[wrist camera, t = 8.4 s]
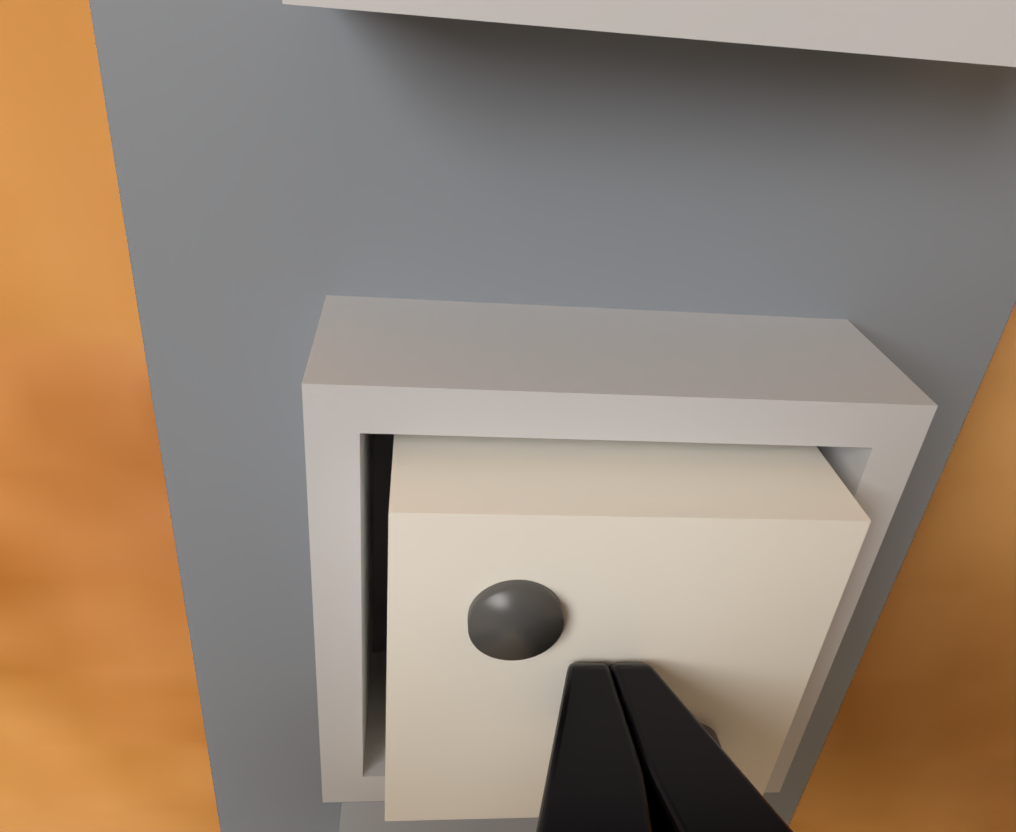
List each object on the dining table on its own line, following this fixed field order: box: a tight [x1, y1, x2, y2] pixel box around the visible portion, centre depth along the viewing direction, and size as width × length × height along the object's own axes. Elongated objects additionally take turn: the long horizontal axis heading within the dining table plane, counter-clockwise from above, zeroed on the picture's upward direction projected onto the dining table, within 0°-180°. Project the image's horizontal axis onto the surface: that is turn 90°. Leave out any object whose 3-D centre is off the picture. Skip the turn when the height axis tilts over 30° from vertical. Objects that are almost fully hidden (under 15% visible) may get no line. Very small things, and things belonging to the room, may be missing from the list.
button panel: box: [89, 0, 1016, 832], centre depth 11 cm, size 26×10×4 cm, turn 175°
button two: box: [385, 434, 871, 821], centre depth 9 cm, size 4×4×2 cm
